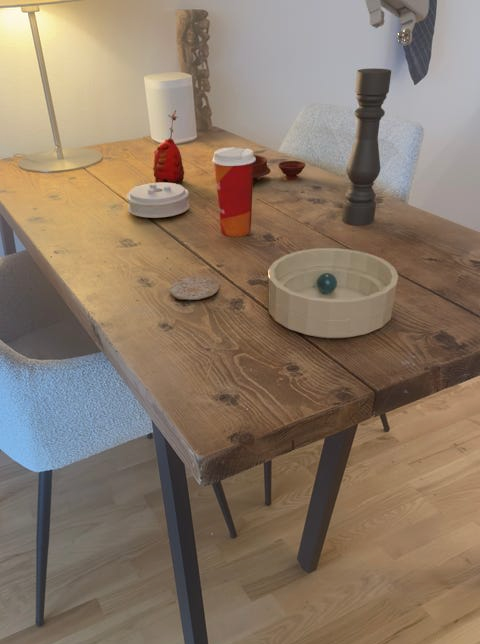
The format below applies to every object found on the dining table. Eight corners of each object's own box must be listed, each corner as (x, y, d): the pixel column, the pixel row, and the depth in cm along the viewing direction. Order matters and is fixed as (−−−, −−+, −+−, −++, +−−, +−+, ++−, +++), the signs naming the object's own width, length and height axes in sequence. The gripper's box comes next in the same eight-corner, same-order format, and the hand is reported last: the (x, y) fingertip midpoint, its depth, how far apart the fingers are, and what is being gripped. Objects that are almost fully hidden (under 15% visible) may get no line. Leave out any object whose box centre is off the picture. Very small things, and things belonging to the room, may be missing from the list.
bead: (334, 288, 86) (336, 269, 84) (337, 297, 83) (339, 278, 81) (315, 288, 86) (316, 269, 84) (316, 297, 83) (318, 278, 81)
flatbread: (183, 277, 91) (183, 271, 91) (227, 284, 89) (226, 278, 88) (160, 299, 85) (159, 293, 85) (206, 306, 83) (205, 300, 82)
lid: (200, 214, 115) (198, 189, 112) (143, 226, 110) (139, 200, 107) (173, 198, 124) (171, 174, 121) (119, 209, 119) (116, 184, 116)
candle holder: (373, 215, 113) (392, 68, 97) (374, 226, 108) (393, 73, 92) (342, 214, 114) (355, 68, 98) (341, 224, 109) (355, 73, 93)
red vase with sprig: (156, 178, 136) (148, 108, 127) (185, 177, 136) (180, 107, 127) (153, 187, 130) (145, 114, 121) (184, 186, 130) (178, 113, 121)
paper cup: (227, 222, 111) (224, 144, 103) (262, 227, 109) (262, 148, 100) (208, 235, 106) (203, 155, 97) (244, 241, 103) (243, 159, 94)
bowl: (379, 284, 88) (384, 246, 84) (403, 342, 74) (411, 300, 71) (266, 286, 88) (266, 249, 85) (270, 343, 75) (270, 302, 71)
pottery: (219, 174, 138) (218, 154, 135) (300, 170, 139) (301, 151, 136) (222, 188, 129) (221, 167, 126) (308, 184, 130) (309, 164, 127)
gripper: (375, -105, 80) (376, 4, 83) (436, -45, 95) (436, 46, 98) (337, -81, 85) (340, 21, 87) (401, -27, 99) (402, 59, 102)
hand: (391, 35), depth 92 cm, fingers open, 8 cm apart
